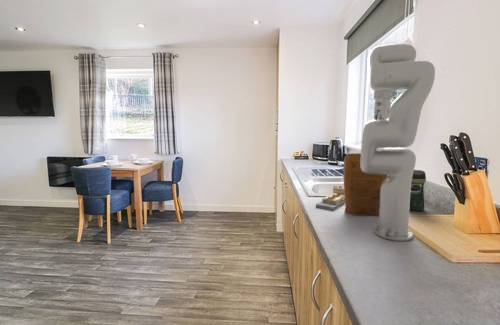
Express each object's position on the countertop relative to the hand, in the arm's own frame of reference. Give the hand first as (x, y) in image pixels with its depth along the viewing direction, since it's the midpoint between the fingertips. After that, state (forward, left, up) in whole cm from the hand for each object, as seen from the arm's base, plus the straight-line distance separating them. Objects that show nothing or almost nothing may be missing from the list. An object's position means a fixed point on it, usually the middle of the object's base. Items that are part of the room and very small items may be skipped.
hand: (380, 135), depth 126 cm
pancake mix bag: (-17, +1, -35) cm, 39 cm away
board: (-10, +19, -35) cm, 41 cm away
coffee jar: (+4, -14, -35) cm, 38 cm away
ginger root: (-8, +19, -33) cm, 39 cm away
